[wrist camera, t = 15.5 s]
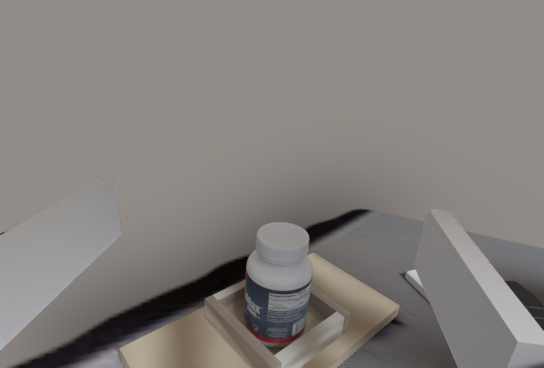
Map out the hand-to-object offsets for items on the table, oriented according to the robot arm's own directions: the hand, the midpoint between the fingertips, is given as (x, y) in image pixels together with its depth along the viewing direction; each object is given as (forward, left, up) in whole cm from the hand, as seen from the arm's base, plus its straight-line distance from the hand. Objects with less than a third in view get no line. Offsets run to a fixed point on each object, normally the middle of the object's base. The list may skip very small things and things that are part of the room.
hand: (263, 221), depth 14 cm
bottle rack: (0, -10, -16) cm, 19 cm away
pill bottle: (0, -10, -15) cm, 18 cm away
